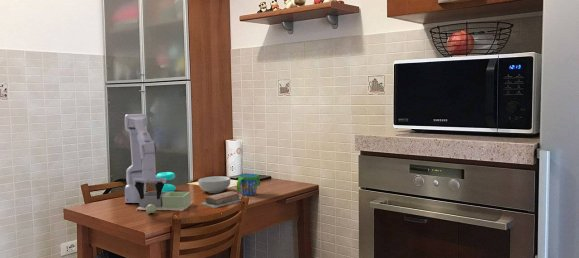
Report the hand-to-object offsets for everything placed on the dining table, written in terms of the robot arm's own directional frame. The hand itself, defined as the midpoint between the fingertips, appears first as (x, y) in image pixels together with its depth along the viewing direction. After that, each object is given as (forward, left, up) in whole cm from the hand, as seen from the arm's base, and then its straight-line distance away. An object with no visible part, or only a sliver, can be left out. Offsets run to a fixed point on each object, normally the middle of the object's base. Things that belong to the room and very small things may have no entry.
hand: (150, 198), depth 220 cm
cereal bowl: (+17, +46, -7) cm, 50 cm away
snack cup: (+37, +39, -7) cm, 54 cm away
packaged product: (+27, +21, -8) cm, 35 cm away
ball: (0, 0, -5) cm, 5 cm away
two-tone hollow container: (+2, +12, -7) cm, 14 cm away
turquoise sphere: (-10, +46, -7) cm, 48 cm away
